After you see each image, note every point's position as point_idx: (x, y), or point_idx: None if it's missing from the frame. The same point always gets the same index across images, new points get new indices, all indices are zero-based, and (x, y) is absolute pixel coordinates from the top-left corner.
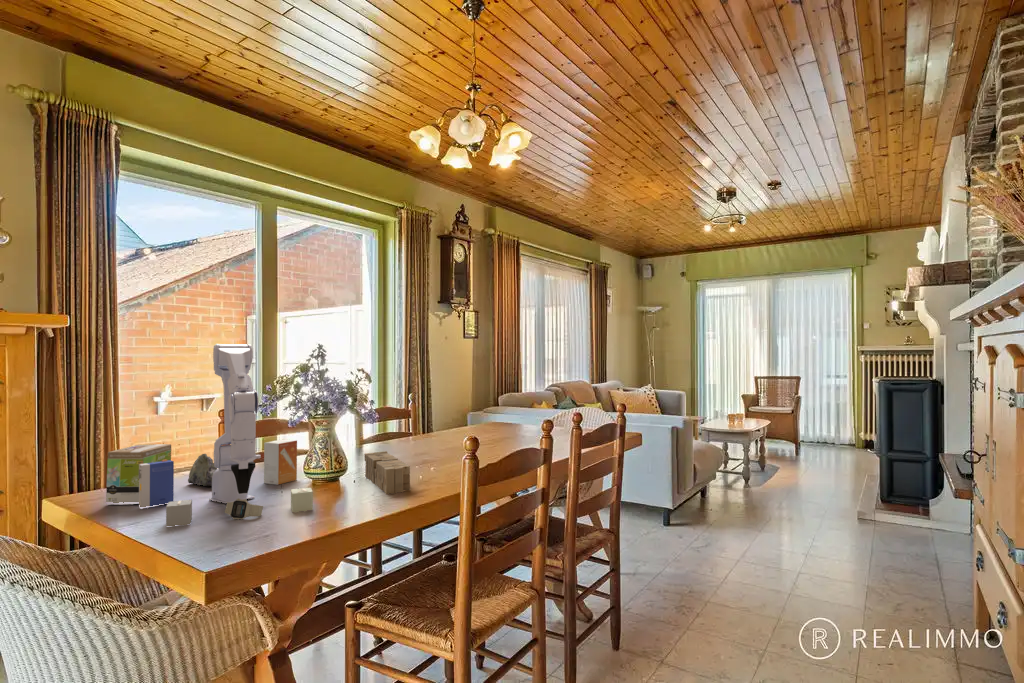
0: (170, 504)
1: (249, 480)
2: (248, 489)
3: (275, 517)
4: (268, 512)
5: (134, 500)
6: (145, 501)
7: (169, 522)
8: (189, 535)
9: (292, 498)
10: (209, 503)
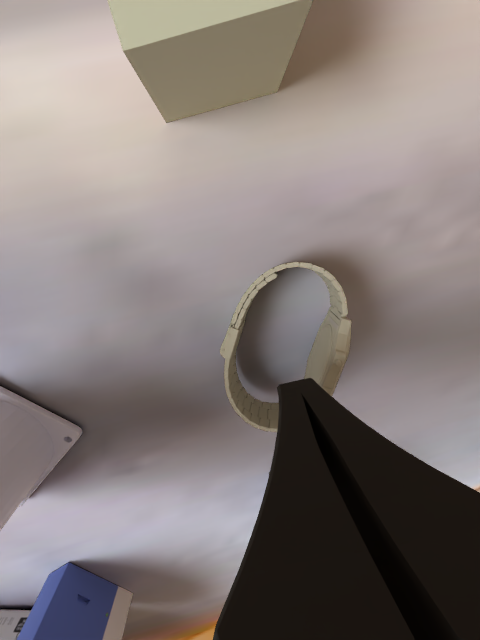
0: None
1: (377, 433)
2: (319, 386)
3: (345, 182)
4: (237, 240)
5: None
6: (117, 619)
7: None
8: (453, 427)
9: (299, 29)
10: (62, 487)
